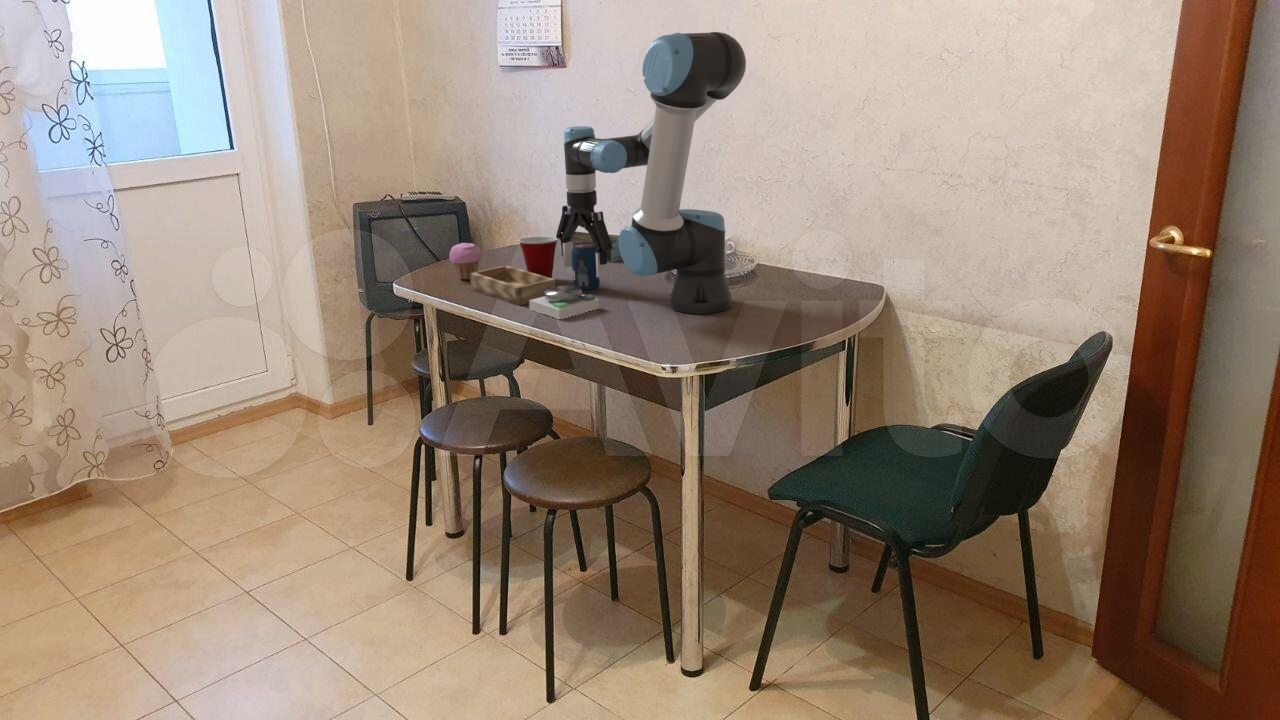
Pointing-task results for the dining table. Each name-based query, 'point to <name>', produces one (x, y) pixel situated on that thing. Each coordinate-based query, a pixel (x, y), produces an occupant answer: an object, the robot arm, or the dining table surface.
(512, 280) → the trough
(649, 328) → the dining table surface
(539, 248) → the plastic cup
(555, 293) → the shiny metal disc
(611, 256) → the beverage carton
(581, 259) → the soda can
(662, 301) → the dining table surface
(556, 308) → the white flat block
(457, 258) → the cupcake
